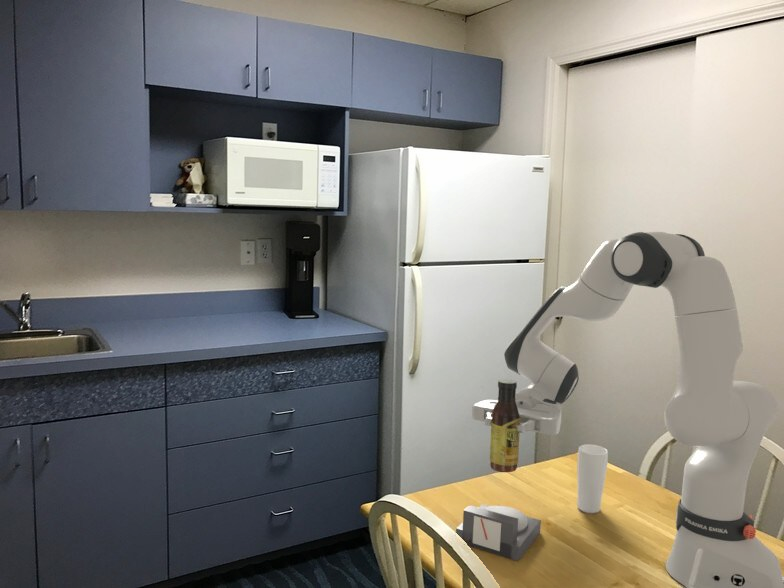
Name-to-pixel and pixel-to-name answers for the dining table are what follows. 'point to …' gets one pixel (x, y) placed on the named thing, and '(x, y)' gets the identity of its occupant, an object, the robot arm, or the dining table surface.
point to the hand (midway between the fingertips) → (503, 425)
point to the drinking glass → (591, 477)
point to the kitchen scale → (498, 530)
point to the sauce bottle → (505, 429)
